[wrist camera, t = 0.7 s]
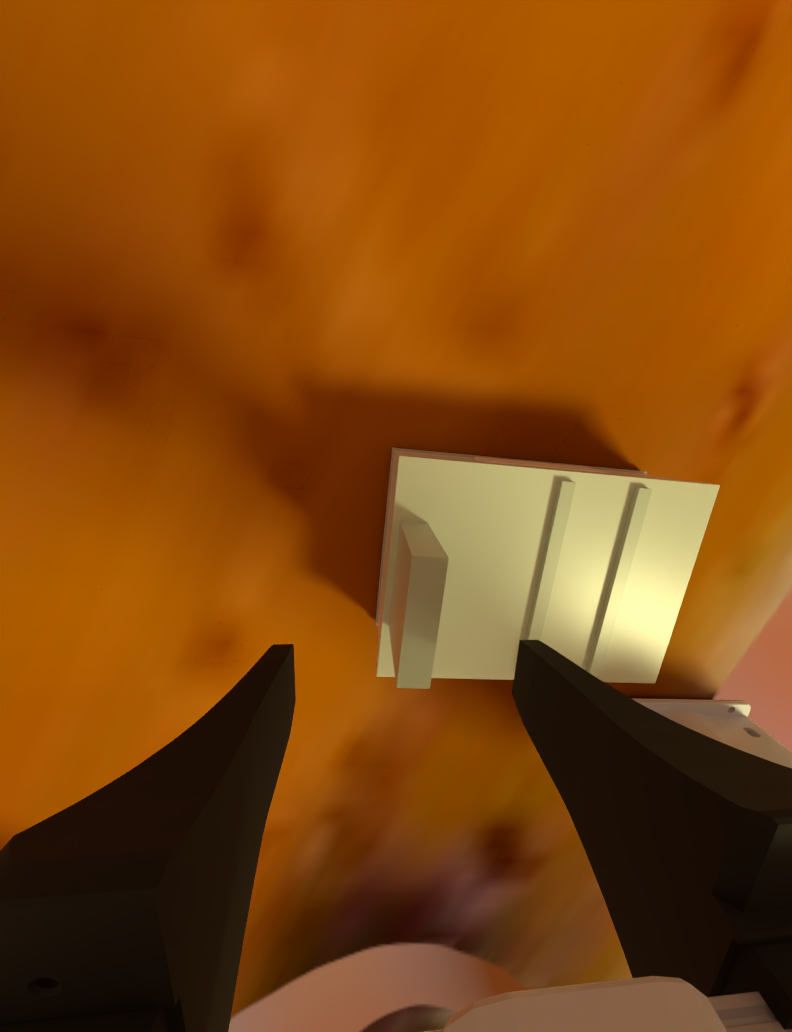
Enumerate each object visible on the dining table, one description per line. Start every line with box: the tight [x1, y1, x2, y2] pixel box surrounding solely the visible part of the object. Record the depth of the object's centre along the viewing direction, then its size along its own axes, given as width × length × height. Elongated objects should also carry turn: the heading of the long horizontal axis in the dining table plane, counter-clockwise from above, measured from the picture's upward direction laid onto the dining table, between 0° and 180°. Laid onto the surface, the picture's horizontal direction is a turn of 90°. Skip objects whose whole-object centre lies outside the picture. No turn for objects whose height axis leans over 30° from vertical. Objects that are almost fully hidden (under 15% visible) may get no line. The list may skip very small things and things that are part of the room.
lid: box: [376, 454, 720, 689], centre depth 16 cm, size 14×10×5 cm
